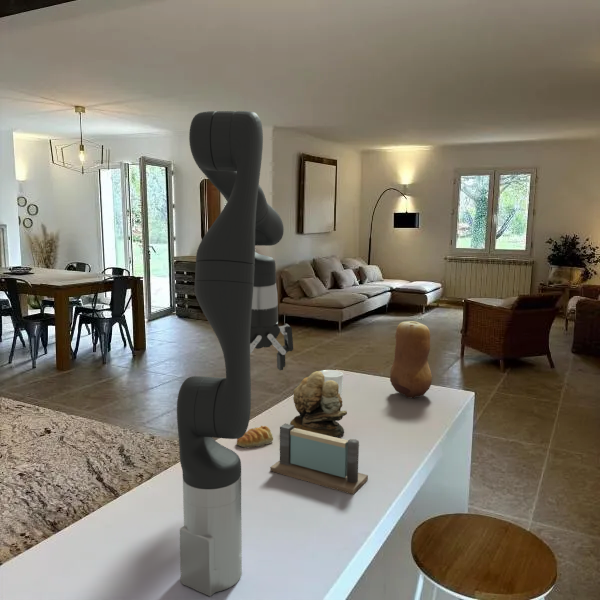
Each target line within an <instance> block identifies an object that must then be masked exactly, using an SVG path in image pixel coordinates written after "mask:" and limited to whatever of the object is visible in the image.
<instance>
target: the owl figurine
mask: <svg viewBox="0 0 600 600" xmlns="http://www.w3.org/2000/svg"><path fill="white" fill-rule="evenodd" d="M320 371H321V370H318V371H313V372H312V373H311V374H310V375H309V376H306V377H304V378H303V379H302V380H301V382H300V383H299V384H298V386H297V387H295V388H294V390H293V399H292V400H293V404H294V407H295V409H296V411H297V412H298V415H296V416H295V417H294V418H293V419H291V420H290V423H289V424H290V425H294V428H297V429H301V430H306V431H310V432H314V433H319V434H323V435H327V436H332V437H336V438H340V437H341V436H343V435H345V429H344V427H343V426H342V425H341V424H340V423H339V421H341V420H342V419H343V418H344V416H346V415H347V414H348V411H347V410H341V408H343V397H342V396H341V397H340V393H338V392H339V390H338V389H339V386H338V383H337V382H335V381H332V380H329V381H326V382H325V380H324V375H323V374H322V372H320Z"/></svg>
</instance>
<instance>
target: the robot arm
mask: <svg viewBox="0 0 600 600" xmlns="http://www.w3.org/2000/svg"><path fill="white" fill-rule="evenodd" d="M193 116H194V117H193V118H192V120H191V123H190V126H189V132H188V133H189V135H188V137H189V138H188V139H189V146H190V147H189V148H190V152H191V156H192V158H193V160H194V162H195V164H196V165H197V167H198V168H199V170H200V171H201V172H202V173H203V175H204V176H205V177H206V178H207V179H208V180H209V181H210V183H211V184H212V185H213V186H214V188H216V189H217V190H218V192H219V193H220V194H221V195H222V196H223V197H224V198H225V200H226V204H225V205H224V206H223V209H222V211H221V212H220V213H219V215H218V216H217V218H216V219H215V220H214V222H213V223H212V224H211V226H210V227H209V229H208V230H207V231H206V233H205V234H204V235H203V237H202V240H200V243H199V245H198V247H197V250H196V253H195V254H196V256H195V270H194V271H195V274H194V294H195V297H196V300H197V303H198V305H199V307H200V309H201V310H202V314H203V315H204V316H205V318H206V320H207V321H208V323H209V325H210V326H211V328H212V330H213V332H214V333H215V336H216V338H217V340H218V342H219V344H220V347H221V351H222V354H223V359H224V365H225V377H216V376H214V377H213V376H199V375H197V376H196V375H195V376H189V377H188V378H186V379H185V380H184V381H183V382H182V383H181V386H180V388H179V391H178V393H177V394H178V395H177V401H176V424H177V425H176V426H177V432H178V433H177V434H178V436H177V437H178V446H179V448H178V449H179V463H180V467H181V469H182V471H181V472H182V491H183V493H182V494H183V495H182V496H183V500H182V502H183V503H182V504H183V507H182V509H183V525H182V527H180V528H179V558H180V559H179V560H180V561H179V563H180V565H179V566H180V584H181V585H184V586H186V587H188V588H191V589H193V590H195V591H197V592H200V593H202V594H204V595H206V596H208V597H211V596H213V595H214V594H215V593H217V592H221V591H224V590H225V591H226V590H227V589H230V588H231V587H233V586H234V585H236V584H237V583H238V582H239V580H240V579H241V577H242V573H243V572H242V571H243V569H242V567H243V565H242V564H243V563H242V561H243V559H242V558H243V557H242V555H243V554H242V551H243V550H242V547H243V546H242V534H243V533H242V461H241V458H240V456H239V454H237V453H236V452H235V451H234V450H233V449H230V448H228V447H226V446H224V445H222V444H221V443H219V442H218V441H217V440H215V439H214V438H216V439H225V440H226V439H229V440H237V439H239V438H241V437H242V436H243V435H244V434H245V433H246V432H247V431H248V428H249V423H250V418H251V409H252V408H251V407H252V406H251V405H252V404H251V403H252V398H251V397H252V385H251V379H252V378H251V354H252V353H253V352H254V350H255V349H257V350H260V349H263V348H270V347H271V346H273V347H274V348H275V349H276V350H277V352H276V367H277V369H278V370H279V371H283V370H284V368H285V367H286V354H287V353H288V352H292V351H294V342H293V341H294V340H293V337H294V336H293V327H291V326H290V325H289V324H288V323H284V324H283V325H279V311H278V310H279V309H278V306H279V305H278V304H279V303H278V289H277V288H278V287H277V275H276V274H277V273H276V269H277V268H276V267H277V266H276V260H275V259H274V258H273V257H272V256H268V255H264V254H260V253H258V252H257V251H256V246H258V247H259V246H262V247H265V246H269V247H270V246H275V245H277V244H279V243H280V241H281V240H282V239H283V236H284V230H285V229H284V223H283V220H282V218H281V216H280V214H279V213H278V212H277V210H276V209H274V208H273V206H272V205H270V203H268V202H267V199H266V195H265V192H264V191H263V188H262V187H261V185H260V176H261V167H262V159H263V150H264V149H263V148H264V147H263V146H264V145H263V143H264V134H263V133H264V132H263V124H262V120H261V118H260V116H259V115H258V114H257V112H254V111H246V110H236V111H235V110H234V111H233V110H227V111H226V110H223V111H220V110H219V111H218V110H214V111H213V110H211V111H209V110H208V111H201V112H198V113H197V114H195V115H193ZM280 333H281V334H282V336H283V341H284V342H283V344H284V345H282V344H281V343H280V342H279V341H278V340H277V338H278V337H279V335H280Z"/></svg>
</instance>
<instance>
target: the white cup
mask: <svg viewBox="0 0 600 600" xmlns="http://www.w3.org/2000/svg"><path fill="white" fill-rule="evenodd" d="M319 371H320V372H322V374H323V375H324V380H325V382H326V381H329V380H332V381H335V382H337V383H338V386H339V389H338V390H339V392H338V393H340V397H341V398H342V397H343V396H342V395H343V381H344V373H343V372H342V371H340V370H335V369H325V370H323V369H322V370H319Z"/></svg>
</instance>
